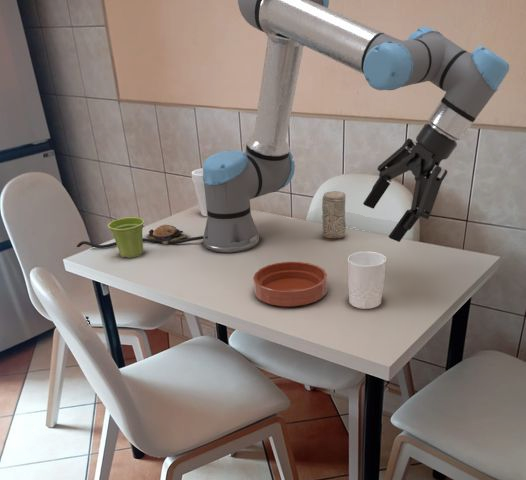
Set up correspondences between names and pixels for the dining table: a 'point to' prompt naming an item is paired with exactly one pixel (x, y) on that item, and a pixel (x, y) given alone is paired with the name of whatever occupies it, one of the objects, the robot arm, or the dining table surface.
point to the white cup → (366, 279)
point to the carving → (333, 214)
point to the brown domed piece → (166, 233)
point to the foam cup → (200, 189)
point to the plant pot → (128, 236)
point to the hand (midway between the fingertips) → (380, 222)
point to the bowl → (290, 283)
